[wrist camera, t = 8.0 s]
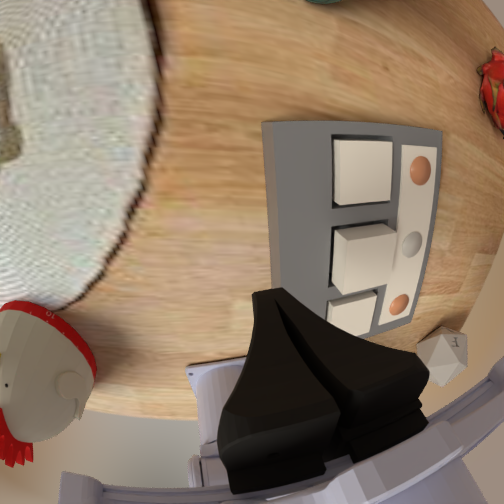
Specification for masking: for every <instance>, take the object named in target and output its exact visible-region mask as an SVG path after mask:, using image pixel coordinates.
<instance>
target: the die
mask: <svg viewBox="0 0 504 504" xmlns="http://www.w3.org/2000/svg"><path fill="white" fill-rule="evenodd" d="M417 356H418V357H419V358H420V359H421V360H422V362H423V363H424V364H425V366H426V367H427V368H428V370H429V371H430V375H429V381H431V382H433V383H435V384H437V385H439V386H441V387H443V386H445V385H446V384H447V383H449V382H450V381H451V380H452V379H454V378H455V377H456V376H457V375H458V374H460V373H461V372H462V371H463V370H464V369H465V368H466V367H467V335H466V334H463V333H461V332H458V331H455V330H452V329H449V328H446V327H444V326H440V327H439V328H438V329H436V330H435V331H434V332H432V333H431V334H430V335H428V336H427V337H426V338H424V339H423V340H422V341H420V342H419V343H417Z"/></svg>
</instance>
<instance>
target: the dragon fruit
mask: <svg viewBox="0 0 504 504" xmlns="http://www.w3.org/2000/svg"><path fill="white" fill-rule="evenodd" d="M491 52H492V60H491V61H490V62H488V63H485V64H483V65H482V66H480V67H478V69H477V71H478V73H479V74H480V75H482V74H483V75H484V79H483V83H482V87H481V89H480V95H479V98H480V103H481V107H482V110H483V112H484V114H485V110H486V109H485V108H486V104H485V101H486V103H487V107H488V111H489V113H490V114H491V115H492V119H493V122H494V127H496V128H497V129H500V131H501V132H502V134H503V135H504V130H503V129H504V54H503V53H502V52H501V51H500V50H499V49H497V48H496V47H494V48H493V49H491ZM503 139H504V137H503Z"/></svg>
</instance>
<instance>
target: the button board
mask: <svg viewBox="0 0 504 504" xmlns="http://www.w3.org/2000/svg"><path fill="white" fill-rule="evenodd" d="M261 126H262V139H263V152H264V166H265V180H266V195H267V210H268V226H269V243H270V261H271V280H272V289H274V288H280V287H283V288H284V289H285V290H286V291H288V292H289V293H290V294H291V295H292V296H294V297H295V298H296V299H297V300H298V301H300V302H301V303H302V304H303V305H305V306H306V307H307V308H309V309H310V310H311V311H313V312H314V313H315V314H317V315H318V316H320V317H321V318H323V319H324V320H325V315H326V304H327V301H328V300H332V299H337V298H341V297H345V296H349V295H353V294H357V293H361V292H365V291H369V290H372V291H373V292H374V293H375V294H376V295H377V298H376V303H375V308H374V313H373V317H372V322H371V326H370V330H369V332H368V333H365V334H362V335H358V336H357V337H359V338H362V339H365V338H368V337H371V336H374V335H377V334H380V333H383V332H386V331H388V330H391V329H394V328H397V327H400V326H402V325H405V324H408V323H410V322H411V320H412V317H413V314H414V311H415V308H416V304H417V301H418V297H419V294H420V290H421V286H422V282H423V278H424V274H425V270H426V266H427V261H428V257H429V252H430V247H431V242H432V236H433V231H434V225H435V218H436V211H437V204H438V195H439V186H440V175H441V159H442V131H439V130H433V129H427V128H420V127H412V126H404V125H395V124H384V123H371V122H354V121H277V122H261ZM331 138H350V139H378V140H384V141H390V142H392V178H391V194H390V200H388V201H377V202H366V203H356V204H346V205H339V204H337V203H336V202H334V201H333V200H332V148H331ZM381 223H383V224H385V225H386V226H388V227H389V228H391V229H392V230H394V231H396V232H397V240H396V247H395V253H394V259H393V265H392V271H391V276H390V281H389V283H388V284H384V285H380V286H377V287H373V288H369V289H365V290H361V291H357V292H353V293H349V294H344V295H342V294H341V292H340V291H339V290H338V289H337V287H336V286H335V285H334V284H333V282H332V270H333V255H334V236H335V230H339V229H345V228H352V227H360V226H367V225H374V224H381Z"/></svg>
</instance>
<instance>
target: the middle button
mask: <svg viewBox="0 0 504 504" xmlns="http://www.w3.org/2000/svg"><path fill="white" fill-rule="evenodd" d="M396 240H397V232H396V231H394V230H392V229H391V228H389V227H388V226H386V225H385V224H383V223H381V224H374V225H367V226H360V227H352V228H345V229H339V230H335V236H334V255H333V270H332V282H333V284H334V285H335V286H336V287H337V289H338V290H339V291H340V292H341V294H342V295H344V294H349V293H353V292H357V291H361V290H365V289H369V288H373V287H377V286H380V285H384V284H388V283H389V281H390V276H391V271H392V265H393V259H394V253H395V247H396Z"/></svg>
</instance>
